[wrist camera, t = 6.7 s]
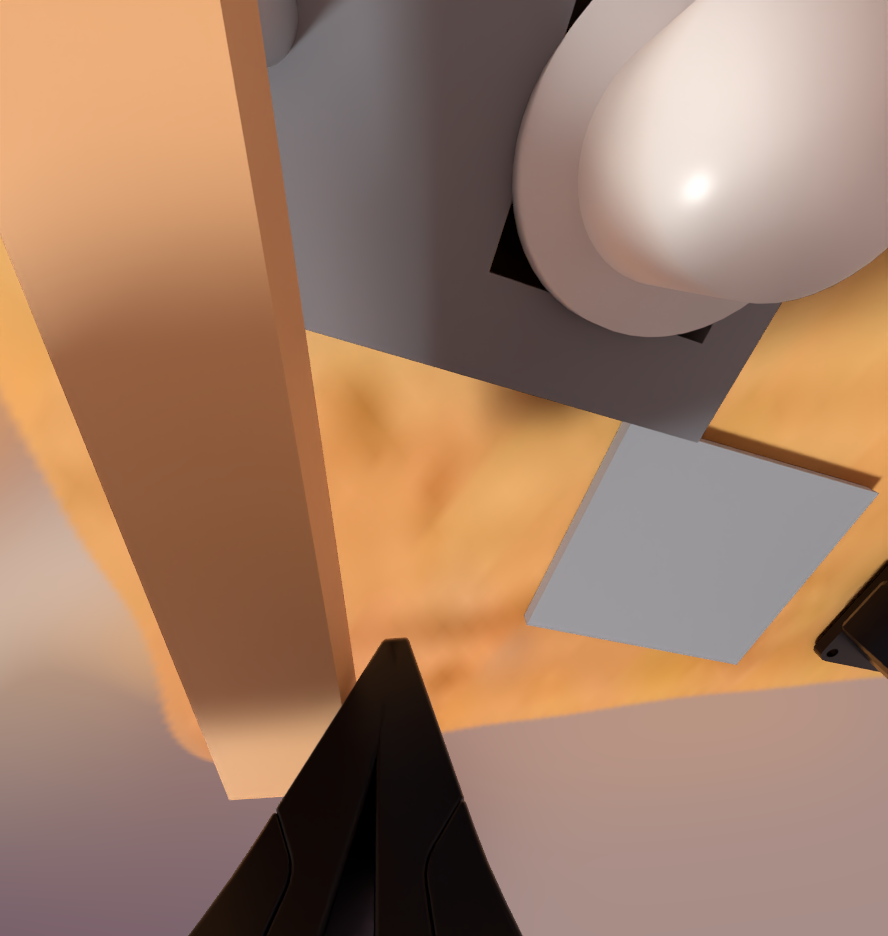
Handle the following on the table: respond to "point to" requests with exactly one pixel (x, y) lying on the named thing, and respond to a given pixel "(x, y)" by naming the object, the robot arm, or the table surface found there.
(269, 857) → the robot arm
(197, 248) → the light orange flat bar
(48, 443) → the table surface
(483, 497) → the table surface
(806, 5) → the plug
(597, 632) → the mat
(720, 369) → the socket base
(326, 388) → the table surface
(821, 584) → the table surface
